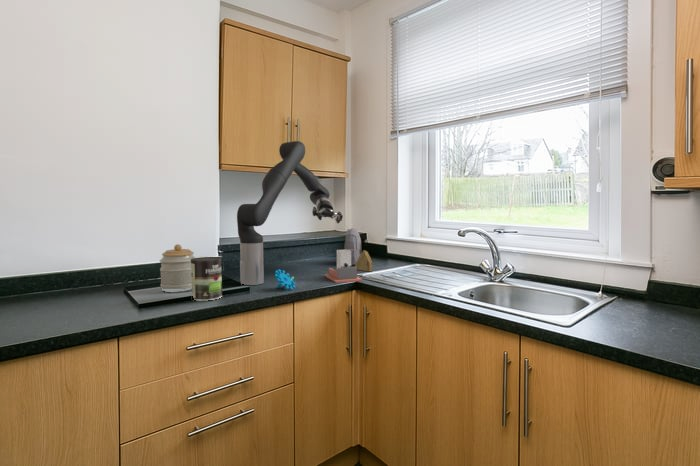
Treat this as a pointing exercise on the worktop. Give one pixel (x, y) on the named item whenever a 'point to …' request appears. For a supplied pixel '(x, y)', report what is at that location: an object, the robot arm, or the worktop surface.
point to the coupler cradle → (343, 275)
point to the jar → (176, 268)
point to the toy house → (364, 262)
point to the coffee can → (206, 278)
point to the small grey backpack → (353, 244)
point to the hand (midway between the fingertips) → (329, 219)
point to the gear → (284, 279)
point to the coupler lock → (343, 258)
